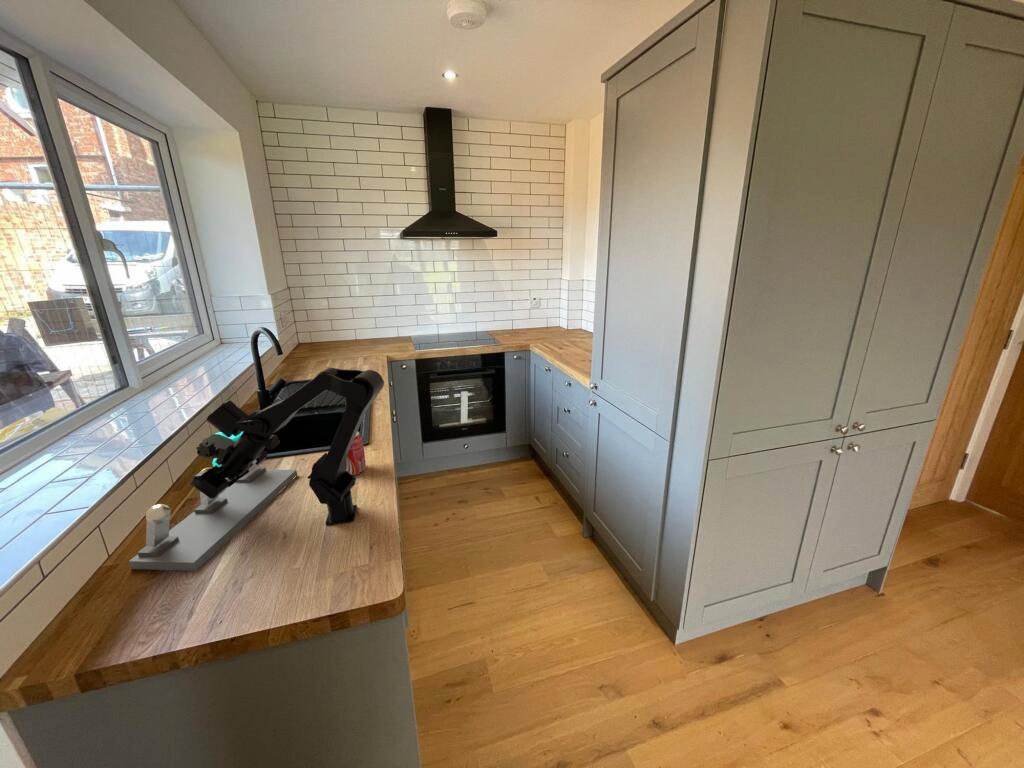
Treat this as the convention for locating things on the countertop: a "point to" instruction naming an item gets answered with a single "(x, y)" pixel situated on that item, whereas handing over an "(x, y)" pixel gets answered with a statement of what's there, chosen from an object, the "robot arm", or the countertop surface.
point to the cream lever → (157, 524)
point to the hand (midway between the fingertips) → (215, 489)
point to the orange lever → (206, 497)
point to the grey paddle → (252, 467)
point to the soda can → (356, 456)
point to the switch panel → (214, 522)
